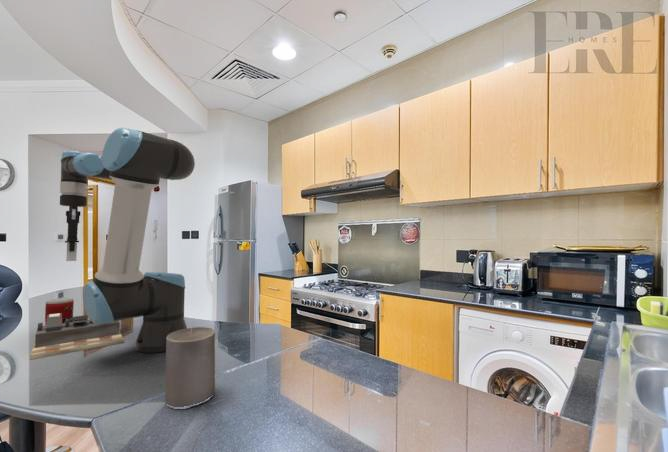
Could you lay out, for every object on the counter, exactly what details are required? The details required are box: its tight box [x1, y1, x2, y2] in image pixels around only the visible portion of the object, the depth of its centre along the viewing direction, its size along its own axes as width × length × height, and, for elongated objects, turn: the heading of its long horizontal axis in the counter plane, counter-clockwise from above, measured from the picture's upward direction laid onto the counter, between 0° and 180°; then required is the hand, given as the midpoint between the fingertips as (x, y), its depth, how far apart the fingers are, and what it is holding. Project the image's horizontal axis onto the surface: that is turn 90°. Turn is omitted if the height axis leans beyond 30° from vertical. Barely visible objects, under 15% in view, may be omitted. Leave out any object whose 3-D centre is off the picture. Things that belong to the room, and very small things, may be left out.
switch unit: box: [29, 319, 125, 360], centre depth 102 cm, size 18×22×7 cm
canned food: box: [44, 297, 75, 326], centre depth 117 cm, size 8×8×11 cm
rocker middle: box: [73, 314, 89, 322], centre depth 105 cm, size 9×4×1 cm, turn 41°
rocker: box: [46, 313, 62, 332], centre depth 100 cm, size 9×4×1 cm, turn 40°
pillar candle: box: [164, 326, 216, 407], centre depth 67 cm, size 10×10×15 cm
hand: (71, 260), depth 111 cm, fingers closed
